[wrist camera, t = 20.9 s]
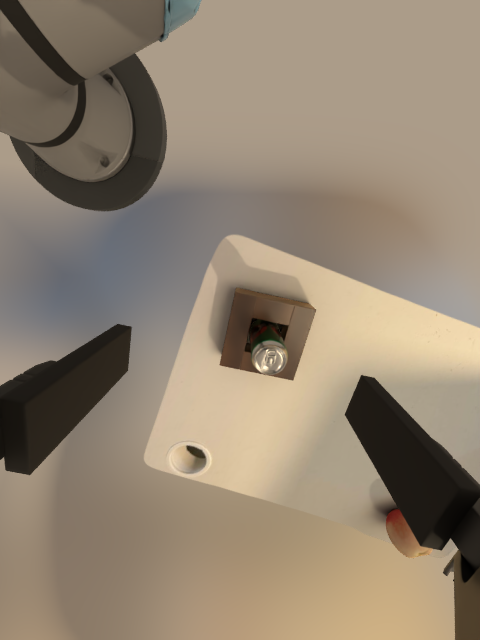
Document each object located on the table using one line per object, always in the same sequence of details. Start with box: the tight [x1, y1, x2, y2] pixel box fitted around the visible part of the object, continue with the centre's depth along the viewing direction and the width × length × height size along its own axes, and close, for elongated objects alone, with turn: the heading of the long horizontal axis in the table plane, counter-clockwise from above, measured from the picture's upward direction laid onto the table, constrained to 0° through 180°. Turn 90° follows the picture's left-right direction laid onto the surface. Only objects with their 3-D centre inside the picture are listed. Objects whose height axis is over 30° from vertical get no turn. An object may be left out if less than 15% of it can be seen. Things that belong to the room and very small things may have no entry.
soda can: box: [250, 319, 288, 375], centre depth 37 cm, size 5×5×12 cm
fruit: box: [386, 509, 432, 558], centre depth 52 cm, size 8×8×8 cm
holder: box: [220, 288, 316, 380], centre depth 41 cm, size 13×13×4 cm
